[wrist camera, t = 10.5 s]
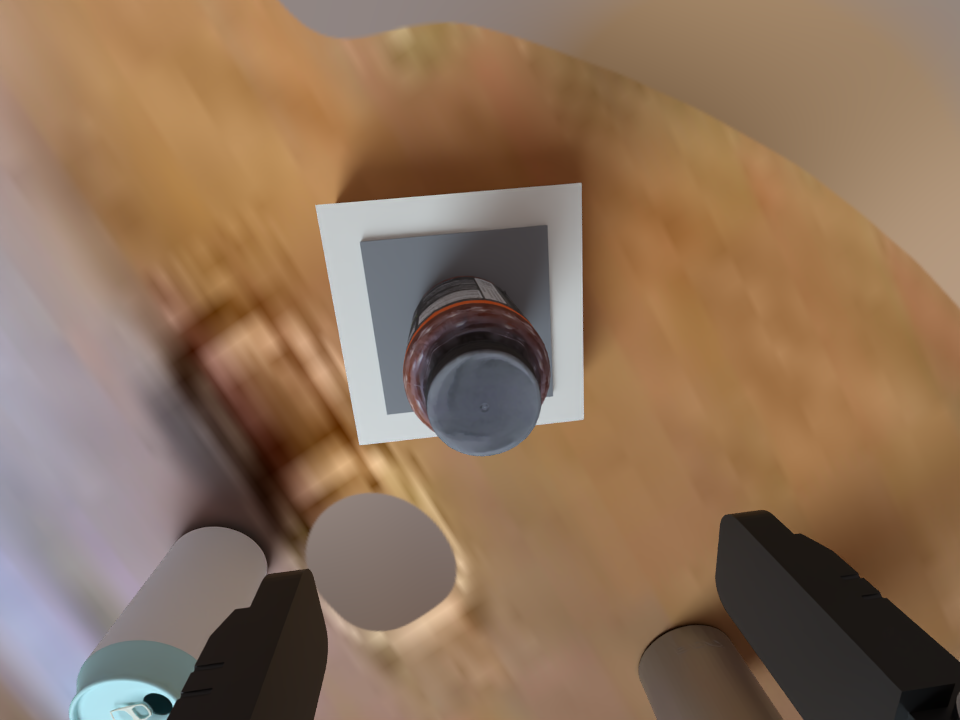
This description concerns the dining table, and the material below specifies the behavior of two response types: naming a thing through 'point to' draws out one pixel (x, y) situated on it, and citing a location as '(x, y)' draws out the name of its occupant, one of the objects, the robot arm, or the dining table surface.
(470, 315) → the supplement bottle
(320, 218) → the white and gray stand
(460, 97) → the dining table surface
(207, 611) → the can
